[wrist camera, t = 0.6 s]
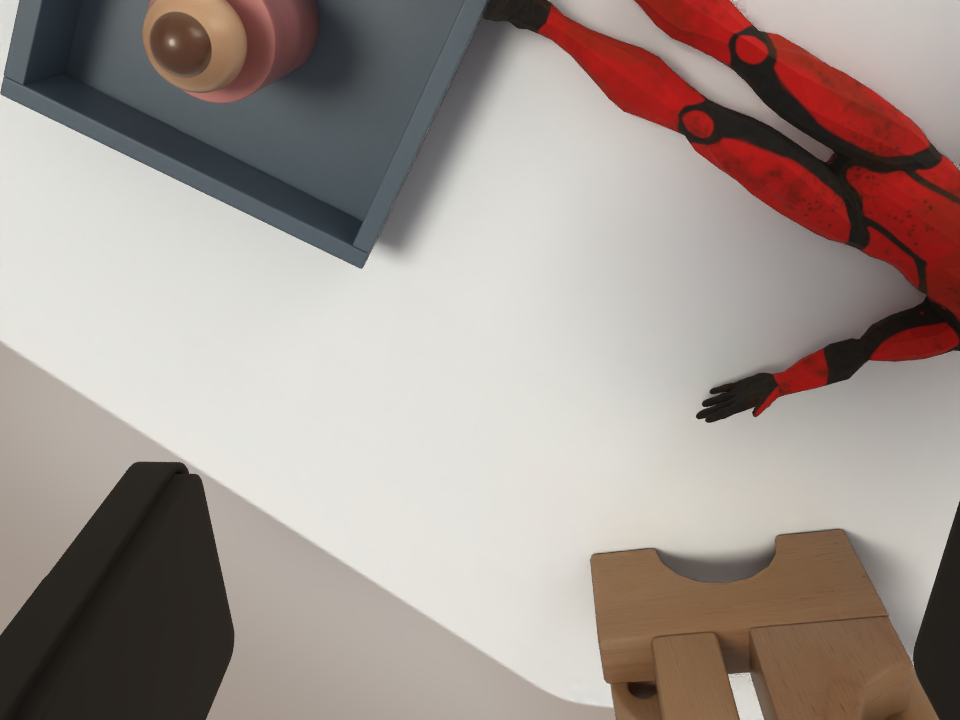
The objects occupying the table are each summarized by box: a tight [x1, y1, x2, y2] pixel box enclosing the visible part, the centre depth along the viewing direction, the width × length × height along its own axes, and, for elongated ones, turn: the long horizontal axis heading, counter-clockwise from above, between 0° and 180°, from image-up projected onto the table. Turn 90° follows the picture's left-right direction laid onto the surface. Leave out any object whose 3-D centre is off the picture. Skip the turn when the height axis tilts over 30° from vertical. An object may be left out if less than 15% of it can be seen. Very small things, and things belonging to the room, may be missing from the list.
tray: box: [0, 0, 490, 269], centre depth 32 cm, size 14×16×4 cm
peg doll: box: [142, 0, 319, 103], centre depth 29 cm, size 4×4×10 cm
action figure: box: [483, 0, 960, 423], centre depth 32 cm, size 26×7×30 cm
